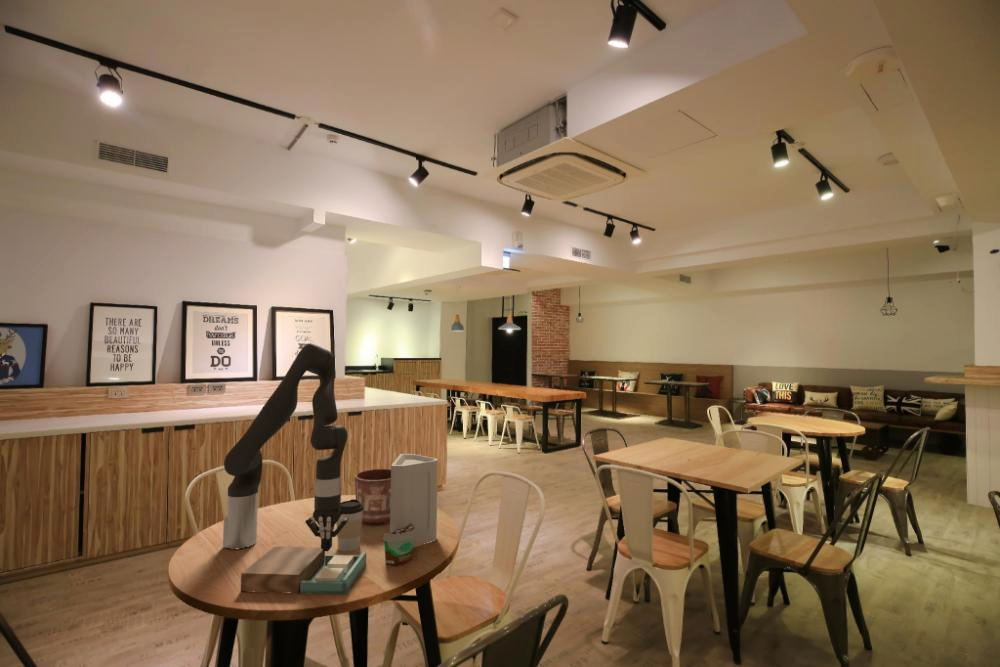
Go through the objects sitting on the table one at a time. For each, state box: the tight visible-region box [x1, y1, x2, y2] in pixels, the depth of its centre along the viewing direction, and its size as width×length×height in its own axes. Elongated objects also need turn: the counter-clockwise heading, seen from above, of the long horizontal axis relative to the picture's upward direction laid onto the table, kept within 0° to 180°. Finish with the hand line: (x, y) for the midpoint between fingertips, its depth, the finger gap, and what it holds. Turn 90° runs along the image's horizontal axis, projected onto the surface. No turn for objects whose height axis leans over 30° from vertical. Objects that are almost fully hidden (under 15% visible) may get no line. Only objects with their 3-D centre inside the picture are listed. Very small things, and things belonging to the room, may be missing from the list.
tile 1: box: [315, 568, 344, 581], centre depth 133 cm, size 6×6×2 cm
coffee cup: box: [335, 498, 364, 552], centre depth 159 cm, size 9×9×15 cm
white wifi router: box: [389, 453, 439, 548], centre depth 167 cm, size 19×15×28 cm
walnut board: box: [240, 545, 326, 594], centre depth 138 cm, size 16×18×5 cm
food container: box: [382, 523, 416, 567], centre depth 149 cm, size 12×6×10 cm, turn 148°
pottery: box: [354, 468, 391, 526], centre depth 186 cm, size 18×18×18 cm
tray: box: [299, 551, 367, 596], centre depth 137 cm, size 12×18×4 cm
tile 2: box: [327, 554, 354, 573], centre depth 142 cm, size 6×6×2 cm
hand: (326, 550), depth 142 cm, fingers closed
